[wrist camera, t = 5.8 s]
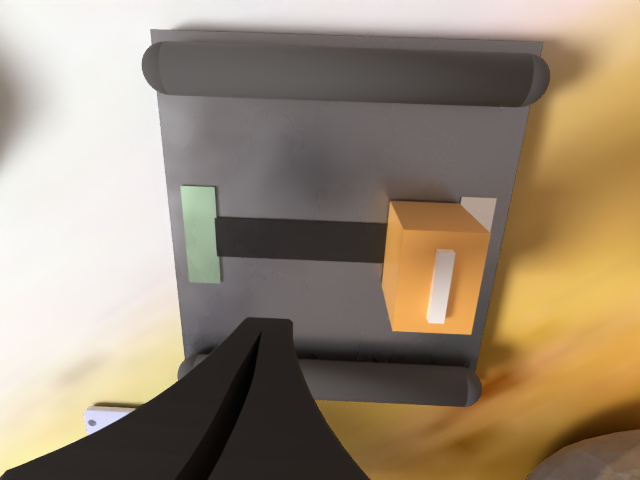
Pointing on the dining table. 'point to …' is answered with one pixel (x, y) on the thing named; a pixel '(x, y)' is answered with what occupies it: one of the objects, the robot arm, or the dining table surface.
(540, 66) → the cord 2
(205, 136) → the panel
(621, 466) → the gray stone pot
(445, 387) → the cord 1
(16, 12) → the dining table surface
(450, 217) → the toggle
